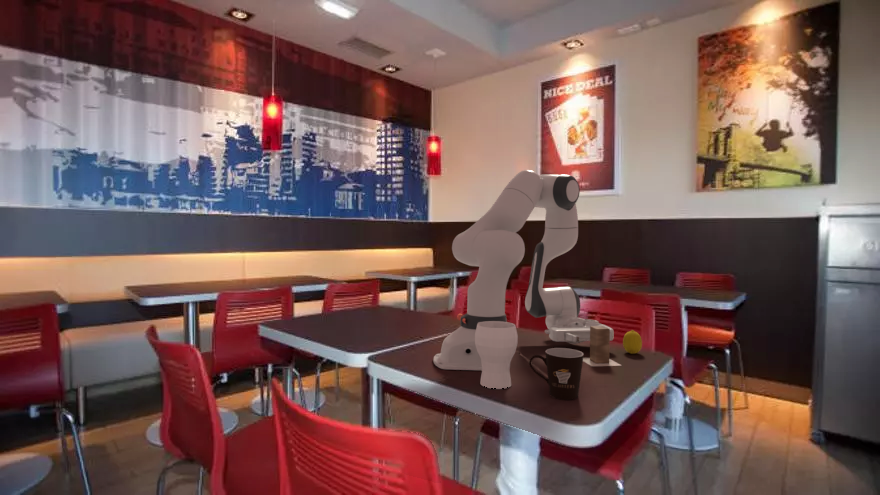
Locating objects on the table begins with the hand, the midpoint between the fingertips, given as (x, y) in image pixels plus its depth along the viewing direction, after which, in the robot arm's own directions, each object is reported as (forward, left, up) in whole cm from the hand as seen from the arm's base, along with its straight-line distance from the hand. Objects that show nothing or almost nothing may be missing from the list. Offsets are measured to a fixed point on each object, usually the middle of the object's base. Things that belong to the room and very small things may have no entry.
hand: (591, 339), depth 134 cm
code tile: (0, -5, -6) cm, 8 cm away
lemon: (+15, +3, -6) cm, 17 cm away
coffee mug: (-22, -28, -6) cm, 36 cm away
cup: (-35, -20, -6) cm, 41 cm away
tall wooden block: (0, -5, -6) cm, 7 cm away
